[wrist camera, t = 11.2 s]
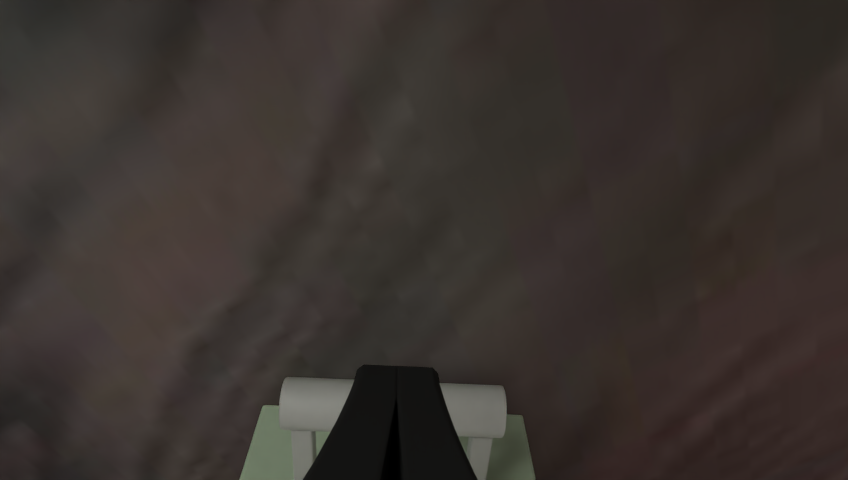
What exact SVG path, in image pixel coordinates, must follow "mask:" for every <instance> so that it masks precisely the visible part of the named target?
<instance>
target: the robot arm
mask: <svg viewBox="0 0 848 480" xmlns="http://www.w3.org/2000/svg"><path fill="white" fill-rule="evenodd" d="M303 480H478V479H477V477H476V475H475V473H474V471H473V469H472V466H471V464H470V462H469V460H468V458H467V455H466V453H465V451H464V449H463V447H462V444H461V442H460V440H459V437H458V435H457V433H456V430H455V428H454V425H453V422H452V420H451V417H450V414H449V412H448V409H447V406H446V403H445V400H444V397H443V393H442V390H441V386H440V382H439V377H438V373H437V372H436V371H435V370H434V369H433V368H428V367H405V366H382V365H363V366H362V367H360V368H359V369H357V373H356V376H355V379H354V382H353V385H352V388H351V390H350V393H349V395H348V397H347V400H346V402H345V404H344V406H343V408H342V410H341V412H340V415H339V417H338V419H337V421H336V423H335V425H334V426H333V428H332V430H331V432H330V434H329V436H328V437H327V439H326V441H325V443H324V445H323V447H322V448H321V450H320V452H319V454H318V456H317V457H316V459H315V461H314V462H313V464H312V466H311V467H310V469H309V470H308V472H307V474H306V475H305V477H304V478H303Z"/></svg>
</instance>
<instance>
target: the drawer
mask: <svg viewBox="0 0 848 480" xmlns="http://www.w3.org/2000/svg"><path fill="white" fill-rule="evenodd" d="M353 382H354V379H331V378H306V377H286V378H285V380H284V382H283V385H282V389H281V394H280V401H279V406H276V405H264V406H263V407H262V409H261V412H260V416H259V419H258V422H257V425H256V428H255V432H254V435H253V438H252V441H251V444H250V448H249V451H248V454H247V457H246V460H245V464H244V467H243V470H242V473H241V476H240V480H303V478H304V477H305V475H306V474H307V472H308V470H309V469H310V467H311V466H312V464H313V462H314V461H315V459H316V457H317V456H318V454H319V452H320V450H321V448H322V447H323V445H324V443H325V441H326V439H327V437H328V436H329V434H330V432H331V430H332V428H333V426H334V425H335V423H336V421H337V419H338V417H339V415H340V412H341V410H342V408H343V406H344V404H345V402H346V400H347V397H348V395H349V393H350V390H351V388H352V385H353ZM440 386H441V390H442V393H443V397H444V400H445V403H446V406H447V409H448V412H449V414H450V417H451V420H452V422H453V425H454V428H455V430H456V433H457V435H458V437H459V440H460V442H461V444H462V447H463V449H464V451H465V453H466V455H467V458H468V460H469V462H470V464H471V466H472V469H473V471H474V473H475V475H476V477H477V479H478V480H536V478H535V474H534V469H533V464H532V459H531V454H530V449H529V444H528V440H527V435H526V430H525V425H524V420H523V416H522V415H509V414H507V404H506V394H505V390H504V387H503V386H501V385H480V384H455V383H440Z"/></svg>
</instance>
